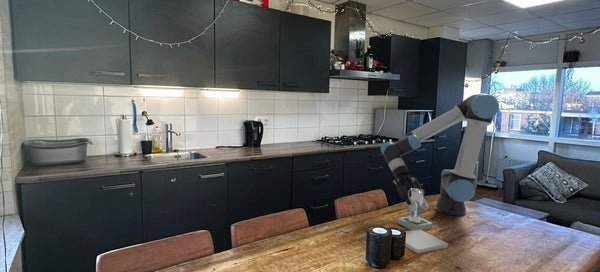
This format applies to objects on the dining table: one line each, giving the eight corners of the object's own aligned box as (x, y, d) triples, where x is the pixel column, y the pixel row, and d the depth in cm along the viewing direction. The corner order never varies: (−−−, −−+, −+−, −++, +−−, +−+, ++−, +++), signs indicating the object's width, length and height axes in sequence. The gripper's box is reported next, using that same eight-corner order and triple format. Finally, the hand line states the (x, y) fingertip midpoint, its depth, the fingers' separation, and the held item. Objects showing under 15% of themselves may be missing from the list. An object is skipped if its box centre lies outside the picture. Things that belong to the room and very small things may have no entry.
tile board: (419, 232, 145) (419, 229, 144) (447, 247, 130) (448, 243, 130) (390, 237, 138) (391, 233, 138) (417, 253, 124) (418, 249, 124)
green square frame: (415, 220, 160) (415, 215, 160) (432, 228, 150) (432, 223, 149) (397, 222, 155) (398, 218, 155) (414, 231, 145) (414, 226, 145)
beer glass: (419, 224, 148) (421, 193, 146) (404, 221, 152) (406, 190, 150) (424, 220, 153) (425, 189, 151) (409, 216, 157) (411, 187, 156)
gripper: (409, 171, 168) (431, 211, 155) (379, 174, 161) (400, 216, 147) (417, 163, 163) (441, 203, 150) (386, 166, 155) (408, 208, 142)
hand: (420, 209), depth 149 cm, fingers closed on beer glass, 7 cm apart
